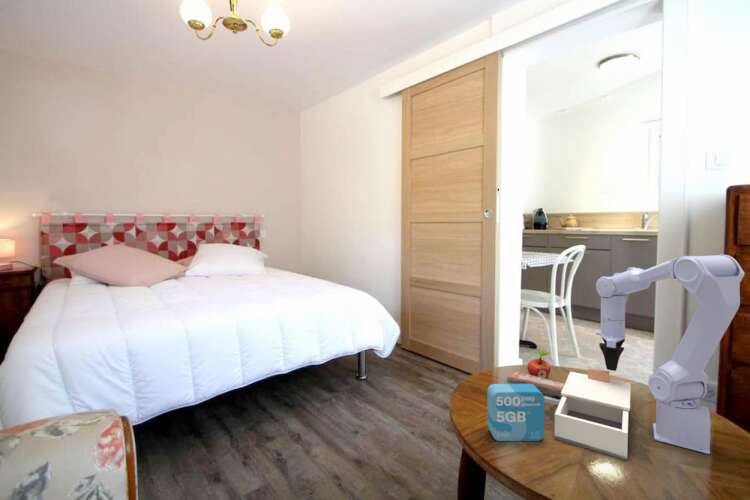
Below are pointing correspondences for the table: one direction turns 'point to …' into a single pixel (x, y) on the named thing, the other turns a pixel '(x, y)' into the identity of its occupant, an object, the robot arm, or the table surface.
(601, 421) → the carton
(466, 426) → the table surface
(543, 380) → the packaged product
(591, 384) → the carton lid
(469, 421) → the table surface
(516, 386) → the data package
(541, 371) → the apple
